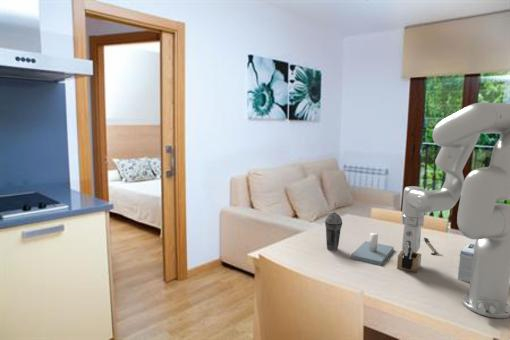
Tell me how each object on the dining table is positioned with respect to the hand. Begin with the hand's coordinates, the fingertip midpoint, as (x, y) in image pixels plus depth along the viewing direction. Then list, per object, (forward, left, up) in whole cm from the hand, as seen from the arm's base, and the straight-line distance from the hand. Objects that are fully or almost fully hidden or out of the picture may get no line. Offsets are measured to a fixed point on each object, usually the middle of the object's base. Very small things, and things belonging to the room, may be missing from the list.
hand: (408, 264), depth 136 cm
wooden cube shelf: (0, 0, -1) cm, 1 cm away
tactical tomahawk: (+30, -5, -2) cm, 31 cm away
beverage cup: (+2, +31, -2) cm, 31 cm away
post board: (+6, +15, -1) cm, 16 cm away
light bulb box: (+4, -20, -2) cm, 20 cm away
